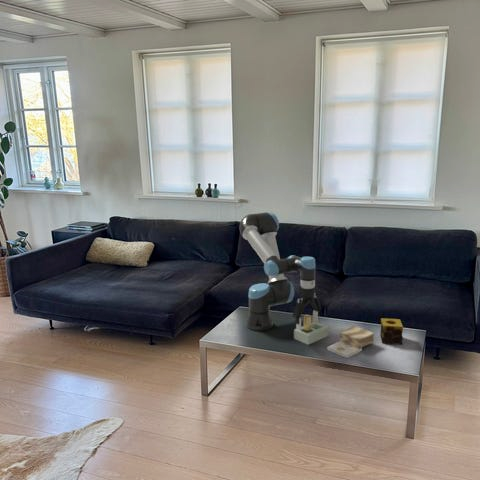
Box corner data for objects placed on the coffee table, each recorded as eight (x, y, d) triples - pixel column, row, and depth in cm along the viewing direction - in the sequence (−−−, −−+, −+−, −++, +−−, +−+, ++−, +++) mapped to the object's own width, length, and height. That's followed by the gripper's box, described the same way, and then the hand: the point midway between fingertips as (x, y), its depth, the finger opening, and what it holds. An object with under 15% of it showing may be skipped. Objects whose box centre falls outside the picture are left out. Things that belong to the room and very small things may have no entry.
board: (327, 349, 227) (327, 346, 227) (342, 342, 235) (342, 339, 234) (346, 358, 218) (346, 355, 218) (361, 350, 225) (362, 347, 225)
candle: (402, 345, 230) (403, 327, 228) (381, 343, 232) (382, 325, 230) (399, 336, 240) (401, 319, 238) (379, 335, 242) (380, 317, 240)
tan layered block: (339, 341, 233) (339, 332, 232) (353, 334, 240) (354, 325, 239) (359, 349, 224) (359, 340, 223) (373, 341, 231) (373, 333, 230)
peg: (301, 337, 239) (301, 315, 237) (306, 334, 242) (307, 313, 239) (307, 339, 236) (307, 318, 234) (312, 337, 239) (312, 316, 236)
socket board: (294, 338, 240) (294, 329, 239) (314, 329, 250) (314, 321, 249) (308, 344, 233) (308, 335, 232) (328, 335, 243) (328, 327, 242)
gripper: (296, 294, 222) (296, 334, 227) (328, 283, 237) (327, 321, 242) (285, 290, 228) (285, 330, 233) (317, 280, 243) (316, 317, 248)
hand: (307, 325), depth 238 cm, fingers open, 12 cm apart
